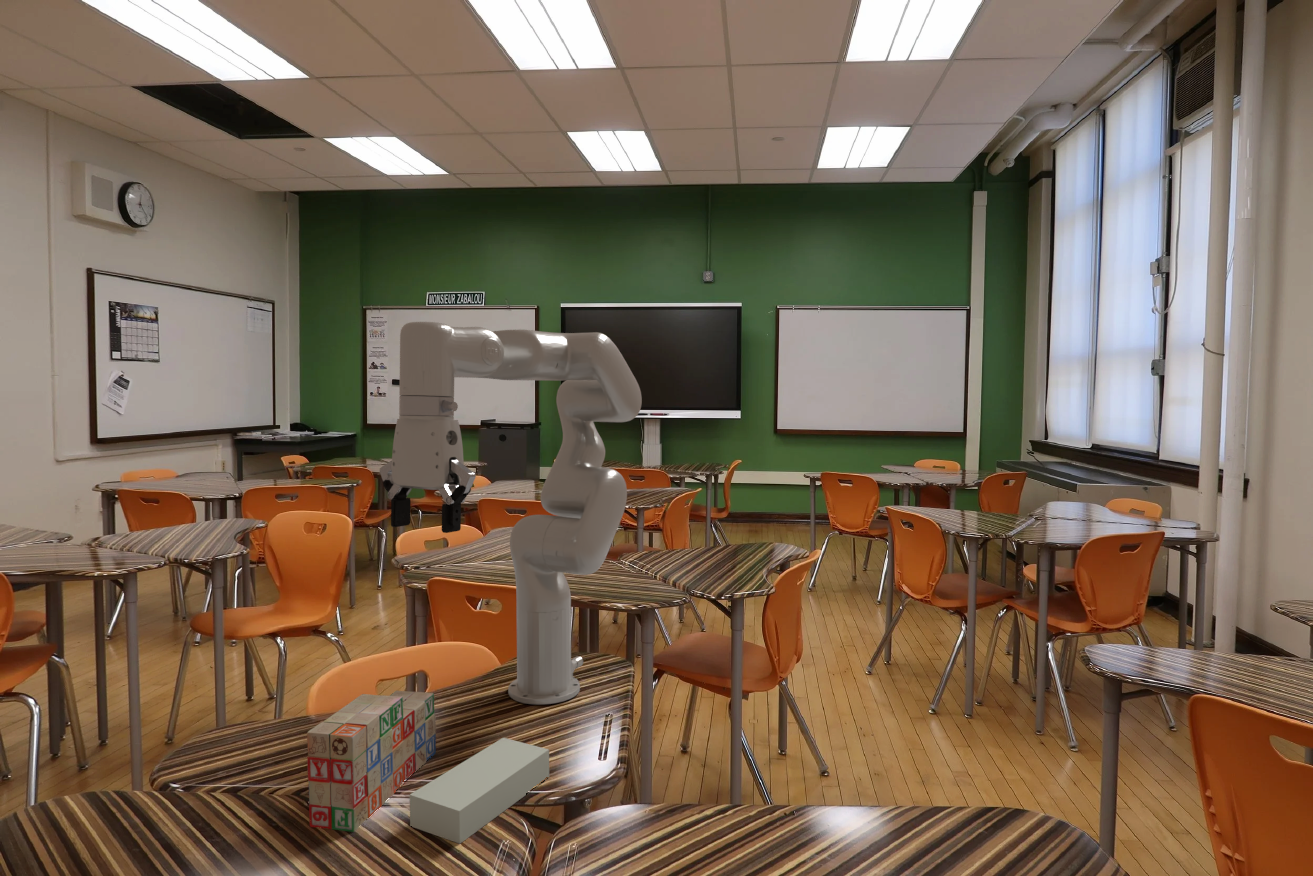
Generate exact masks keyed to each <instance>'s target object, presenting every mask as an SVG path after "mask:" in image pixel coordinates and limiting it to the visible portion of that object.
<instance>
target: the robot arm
mask: <svg viewBox="0 0 1313 876" xmlns="http://www.w3.org/2000/svg"><path fill="white" fill-rule="evenodd" d="M455 378H467V379H468V378H472V379H473V378H476V379H492V380H499V381H500V380H501V381H561V382H562V381H563V382H562V383H561V384H560V385H559V387H558V389H557V392H556V407H557V411H558V415H559V420H560V424H561V429H562V442H561V446H560V448H559V451H558V452H557V455H556V458H555V459H554V462H553V464H552V466H551V468H550V470H549V472H548V475H547V477H546V479H545V481H544V483H543V486H542V488H541V493H540V504H541V506H542V508H543V509H544V510H545V511H546V512H548V513H549V514H551V515H549V514H532V515H528V516H525V517H522V518H521V519H519V520H518V521H517V522H516V524H514V526H513V528H512V529H511V532H510V535H509V536H510V537H509V551H510V556H511V560H512V566H513V569H514V578H515V588H516V589H515V590H516V591H515V592H516V594H515V595H516V676H517V677H516V679H515V680H513V681H511V683H510V684H509V685H508V691H507V693H508V696H509V697H510V698H511V699H513V700H514V701H516V702H518V703H522V704H526V705H527V704H528V705H541V706H542V705H551V704H552V705H553V704H558V703H562V702H565V701H568V700H571V699H573V698H575V697H576V696H577V695H578V694H579V693H580V690H581V683H580V681H579V680H578V679H577V678H575V677H574V672H575V670H576V669H578V668H580V667H581V666H583V665H584V660H583V657H581V656H578V655H577V656H575V657H573V658H572V633H571V632H572V629H571V627H572V626H571V625H572V622H571V621H572V620H571V619H572V618H571V617H572V615H571V613H572V611H571V610H572V608H571V606H572V595H571V589H570V585H569V582H568V580H567V578H566V576H565V574H571V575H578V576H587V575H591V574H594V573H596V572H598V570H599V569H600V568H601V567H602V565H603V563H604V562H605V560H606V559H607V555H608V553H609V550H610V548H611V545H612V543H613V540H614V538H615V535H616V533H617V531H618V528H619V526H620V523H621V521H622V519H623V516H624V513H625V510H626V505H627V500H628V499H627V498H628V489H627V482H626V480H625V478H624V477H623V475H622V473H620V472H618V471H617V470H615V469H613V468H610V467H602V466H603V464H604V462H605V458H606V447H605V444H604V442H603V439H602V437H601V436H600V434H599V432H598V430H597V428H596V425H595V422H596V423H597V422H599V423H626V422H630V421H632V420H634V419H635V418H636V417H637V416H638V415H639V413H640V411H641V408H642V401H643V400H642V398H643V397H642V391H641V388H640V385H639V383H638V381H637V379H636V377H635V376H634V374H633V372H632V370H631V368H630V367H629V365H628V363H627V361H626V360H625V358H624V356H623V354H622V353H621V352H620V349H619V348H618V347H617V345H616V344H615V343H614V341H612V339H611V338H610V337H608V336H607V335H606V334H604V333H602V332H597V331H595V332H593V331H592V332H574V333H573V332H572V333H571V332H570V333H569V332H565V333H564V332H552V331H551V332H550V331H549V332H548V331H540V330H533V329H532V330H531V329H504V330H503V329H502V330H494V331H493V330H490V329H488V328H485V327H481V326H465V327H463V326H450V325H448V324H445V323H441V322H435V321H434V322H433V321H411V322H407V323H405V324H403V326H402V327H401V329H400V335H399V395H398V396H399V398H398V401H399V403H398V405H399V407H398V411H399V413H398V414H399V416H398V417H399V418H397V420H396V425H395V429H394V437H393V443H392V453H391V454H392V455H391V460H390V461H389V462H387V463H385V464H384V465H382V466H381V467H380V468H379V474H380V476H381V479H382V483H383V484H382V485H383V487H384V489H385V490H386V492H387V498H388V499H389V500H390V503H391V504H390V526H391V527H392V528H398V527H407V526H410V524H411V509H412V508H411V507H412V506H411V502H412V501H411V498H410V497H408V495H409V494H410V493H411V491H412V490H413V489H416V490H418V489H419V490H429V491H430V490H431V491H435V490H436V491H439V494H440V495H441V497H442V499H443V500H444V502H445V503H443V504H442V506H441V531H442V533H444V534H448V533H453V532H454V533H455V532H459V531H461V527H462V525H461V524H462V523H461V520H462V504H463V503H465V501H466V498H467V496H469V494H470V493H471V491H472V487H473V484H474V482H475V479H476V478H477V477H476V473H475V472H474V471H473V470H471V469H470V468H469V467H467V466H466V465H465V464H464V461H465V460H464V448H463V440H462V432H461V428H460V423H459V420H458V419H455V412H457V410H458V409H459V408H458V407H459V405H458V403H457V402H456V401H455V398H454V397H455ZM564 573H565V574H564Z"/></svg>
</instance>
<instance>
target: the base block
mask: <svg viewBox="0 0 1313 876" xmlns="http://www.w3.org/2000/svg"><path fill="white" fill-rule="evenodd" d="M546 777H549V778H550V749H549V748H544V747H542V746H541V747H540V746H536V745H534V744H530V743H529V744H528V743H525V742H522V741H518V740H513V739H510V738H507V737H502V738H500V739H498V740H496V742H494V743H492V744H491V745H489V746H487V747H486V748H484V749H482V750H480V751H479V752H477V753H475V754H474V755H472V756H470V757H469V758H467V759H466V760H464V761H462V762H461V763H459V764H457V765H456V766H454V767H453V768H451V769H449V770H447V771H446V772H444V773H443V774H441V775H439V776H438V777H436V778H435V779H433V780H431V781H429V782H428V783H427V784H424V785H423V786H421V787H420V788H418V789H416V790H415V791H413V792H412V793H410V794H409V827H411V826H412V828H415V829H416V830H420V831H423V832H425V833H429V834H431V835H434V836H438V837H441V838H442V839H445V840H448V841H451V842H453V843H457V844H462V843H463V842H464V841H465V840H468V838H470V837H471V836H473V835H474V834H475V833H476V832H478V831H479V830H481V829H482V828H484V826H486V825H487V824H489V823H491V822H492V821H493V820H494V819H495V818H496V817H498V816H500V815H501V814H502V813H504V812H505V811H507V810H508V809H509V808H510V807H511V806H513V805H514V804H516V803H517V802H519V800H521V799H522V798H524V797H525V796H526V793H527V792H528V791H530V790H531V789H532V788H533V787H534V786H536V785H537V784H539V783H540V782H541V781H542V780H544V779H545V778H546Z"/></svg>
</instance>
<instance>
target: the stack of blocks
mask: <svg viewBox="0 0 1313 876" xmlns="http://www.w3.org/2000/svg"><path fill="white" fill-rule="evenodd" d="M436 724H437V723H436V713H435V693H433V692H423V691H407V690H394V691H393V693H391V694H390V695H379V694H366V693H362V694H360V695H359V696H357V697H355V699H353V700H352V701H350V702H348V703H347V704H346V705H344V706H343V707H342V708H341V709H339V710H338V711H336V712H334V713H333V714H332V715H331V716H329V717H328V718H326V719H325V720H323V721H321V722H320V723H318V724H317V725H315V726H314V727H313V728H311V729H310V730H308V731H307V732H306V733H307V734H306V737H307V738H306V739H307V757H306V759H307V780H308V802H309V803H308V809H309V810H308V811H309V812H308V813H309V816H308V818H309V819H308V820H309V828H316V827H319V828H318V829H325V828H328V830H336V831H342V832H343V831H344V832H352V833H355V832H356V831H357V830H358V829H359V828H360V827H361V826H362V825H363V824H364V823H365V822H366V821H367V820H368V819H367V818H369V817H370V816H371V815H372V814H373V813H374V812H375V811H376V810H377V809H378V810H380V809H381V808H382V805H383V804H384V803H385V801H386V800H387V799H388V798H389V797H391V796H392V797H393V796H394V794H395V793H396V792H397V791H398V790H399V789H400V788H401V787H400V785H401V784H402V782H404V780H405V779H406V778H408V777H409V776H410V775H411V774H413V773H414V772H415V771H417V770H418V769H419V768H420V769H421V768H422V767H423V766H425V764H426V763H427V762H428V761H429V760H430V759H432V757H434V755H436V753H437V745H436V744H437V743H436V741H437V739H436V738H437V737H436V735H437V734H436V732H437V731H436V730H437V728H436ZM431 756H432V757H431ZM429 758H430V759H429ZM428 759H429V760H428ZM427 760H428V761H427ZM426 761H427V762H426ZM422 765H423V766H422ZM421 766H422V767H421ZM420 769H419V770H420ZM419 770H418V771H419ZM418 771H417V772H418ZM415 773H416V772H415ZM415 773H414V774H415ZM414 774H413V775H414ZM399 787H400V788H399ZM398 788H399V789H398ZM397 789H398V790H397ZM396 790H397V791H396ZM392 797H391V798H392ZM385 804H386V803H385ZM385 804H384V805H385ZM384 805H383V806H384ZM380 807H381V808H380ZM379 808H380V809H379ZM378 810H377V811H378ZM377 811H376V812H377ZM376 812H375V813H376ZM375 813H374V814H375ZM374 814H373V815H374ZM373 815H372V816H373ZM372 816H371V817H372ZM371 817H370V818H371ZM370 818H369V819H370ZM366 819H367V820H366ZM365 820H366V821H365ZM364 821H365V822H364ZM363 822H364V823H363ZM362 823H363V824H362ZM361 824H362V825H361ZM360 825H361V826H360ZM359 826H360V827H359ZM320 827H321V828H320ZM358 827H359V828H358Z"/></svg>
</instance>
